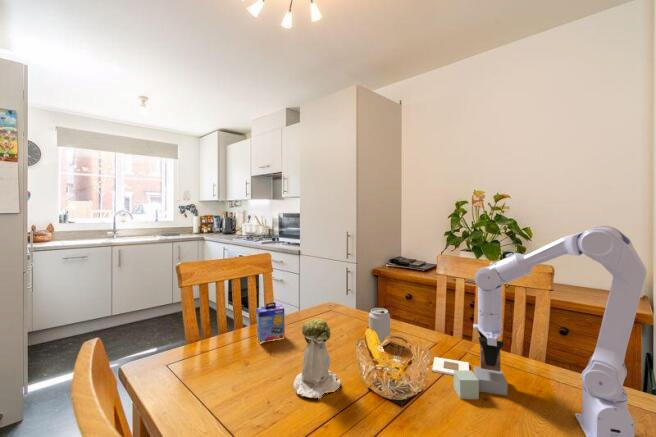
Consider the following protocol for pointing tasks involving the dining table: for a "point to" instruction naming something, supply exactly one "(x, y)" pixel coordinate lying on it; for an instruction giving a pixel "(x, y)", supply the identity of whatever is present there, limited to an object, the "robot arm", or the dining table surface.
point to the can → (380, 322)
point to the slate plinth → (491, 381)
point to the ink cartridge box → (270, 322)
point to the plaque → (448, 365)
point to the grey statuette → (315, 362)
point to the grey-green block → (466, 384)
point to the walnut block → (484, 366)
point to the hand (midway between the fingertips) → (489, 360)
